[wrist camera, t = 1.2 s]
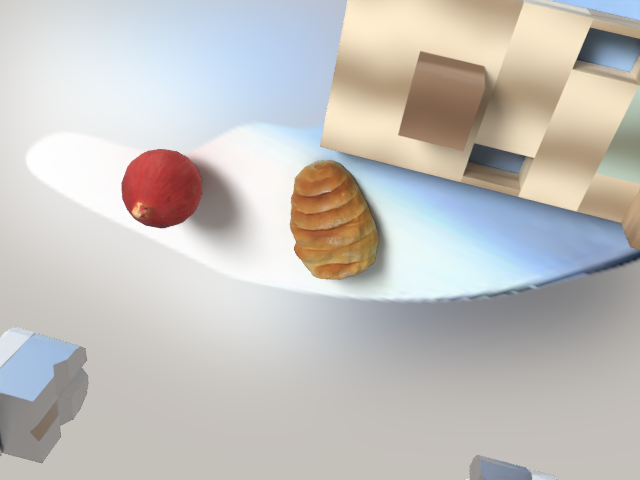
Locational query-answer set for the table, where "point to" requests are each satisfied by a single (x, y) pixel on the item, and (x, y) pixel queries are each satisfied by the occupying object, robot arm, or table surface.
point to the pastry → (332, 222)
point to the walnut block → (442, 101)
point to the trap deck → (498, 99)
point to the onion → (161, 188)
